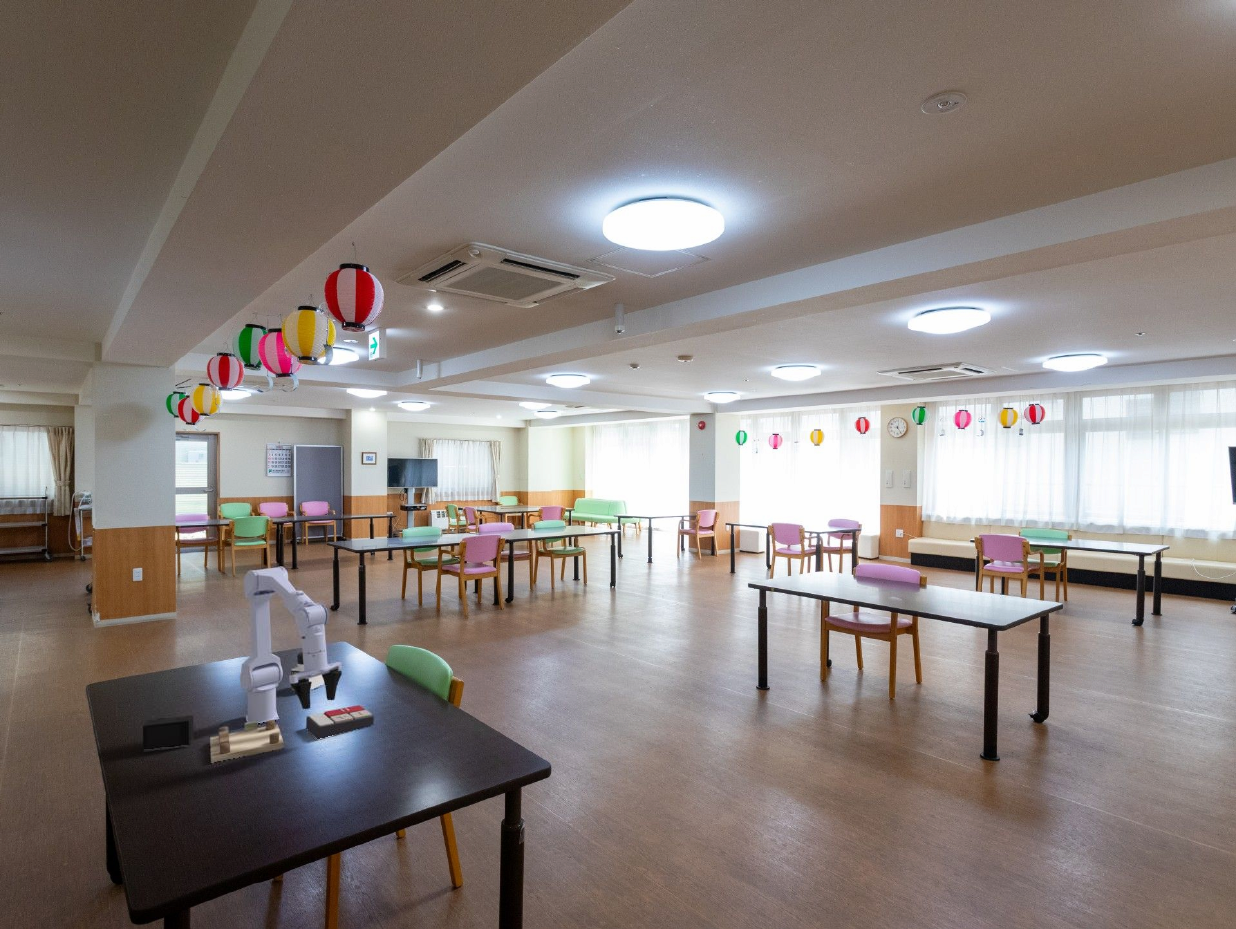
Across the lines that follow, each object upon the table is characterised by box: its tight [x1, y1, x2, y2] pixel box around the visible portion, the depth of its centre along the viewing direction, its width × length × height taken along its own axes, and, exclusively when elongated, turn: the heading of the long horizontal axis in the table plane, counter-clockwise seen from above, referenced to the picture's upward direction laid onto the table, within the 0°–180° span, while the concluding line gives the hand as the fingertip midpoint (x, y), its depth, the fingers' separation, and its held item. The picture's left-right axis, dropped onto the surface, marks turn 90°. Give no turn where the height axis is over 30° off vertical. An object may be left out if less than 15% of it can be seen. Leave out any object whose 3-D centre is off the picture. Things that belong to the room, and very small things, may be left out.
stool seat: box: [209, 720, 285, 764], centre depth 175 cm, size 15×16×4 cm
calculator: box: [305, 705, 375, 740], centre depth 187 cm, size 11×4×15 cm
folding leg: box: [218, 726, 230, 745], centre depth 174 cm, size 10×2×2 cm, turn 32°
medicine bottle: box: [290, 651, 325, 690], centre depth 222 cm, size 7×7×12 cm
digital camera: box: [142, 714, 195, 750], centre depth 176 cm, size 10×5×7 cm, turn 108°
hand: (318, 704), depth 176 cm, fingers open, 7 cm apart
